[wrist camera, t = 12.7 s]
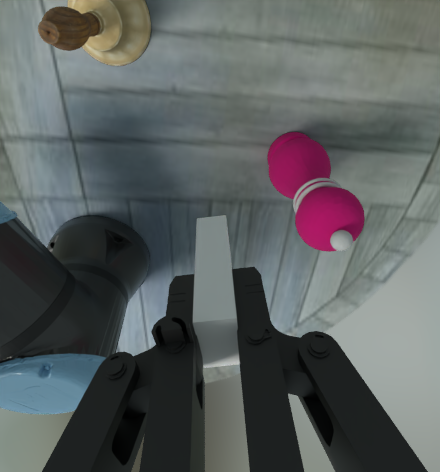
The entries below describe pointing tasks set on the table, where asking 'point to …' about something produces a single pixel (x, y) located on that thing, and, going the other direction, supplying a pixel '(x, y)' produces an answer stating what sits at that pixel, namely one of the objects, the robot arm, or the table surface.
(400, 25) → the table surface
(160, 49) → the table surface
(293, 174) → the pepper mill
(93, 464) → the robot arm
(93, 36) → the hand bell
